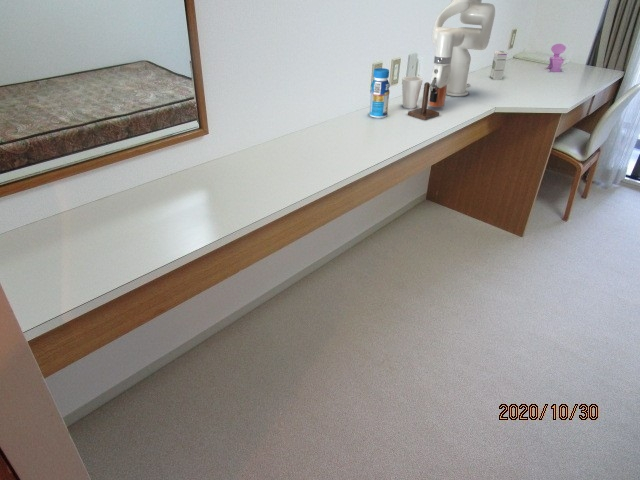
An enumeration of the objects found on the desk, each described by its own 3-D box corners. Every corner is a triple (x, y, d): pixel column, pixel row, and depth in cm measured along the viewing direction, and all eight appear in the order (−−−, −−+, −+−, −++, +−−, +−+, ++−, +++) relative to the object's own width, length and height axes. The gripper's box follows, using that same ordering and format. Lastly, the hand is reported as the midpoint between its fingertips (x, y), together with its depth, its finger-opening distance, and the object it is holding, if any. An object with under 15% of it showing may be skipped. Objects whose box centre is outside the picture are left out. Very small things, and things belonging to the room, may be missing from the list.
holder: (421, 110, 211) (425, 78, 203) (439, 115, 205) (443, 82, 197) (407, 114, 206) (411, 82, 198) (424, 120, 200) (429, 86, 192)
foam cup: (419, 110, 212) (422, 81, 205) (399, 108, 214) (401, 80, 207) (419, 104, 220) (422, 76, 213) (400, 103, 221) (402, 75, 214)
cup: (435, 101, 218) (437, 82, 213) (447, 105, 213) (450, 85, 208) (425, 104, 214) (428, 84, 209) (437, 107, 209) (440, 88, 204)
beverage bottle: (365, 113, 207) (368, 68, 196) (381, 111, 210) (385, 66, 199) (374, 119, 201) (377, 72, 190) (391, 116, 203) (395, 70, 193)
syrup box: (502, 79, 262) (508, 52, 254) (492, 79, 262) (497, 52, 254) (499, 76, 267) (504, 50, 259) (489, 76, 267) (494, 50, 259)
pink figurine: (548, 71, 277) (555, 45, 269) (544, 68, 285) (551, 43, 277) (562, 72, 276) (569, 46, 268) (558, 69, 284) (565, 43, 275)
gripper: (441, 64, 195) (435, 105, 205) (459, 58, 206) (452, 97, 216) (425, 62, 199) (420, 102, 209) (444, 56, 210) (438, 95, 220)
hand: (437, 99), depth 212 cm, fingers closed on cup, 7 cm apart
